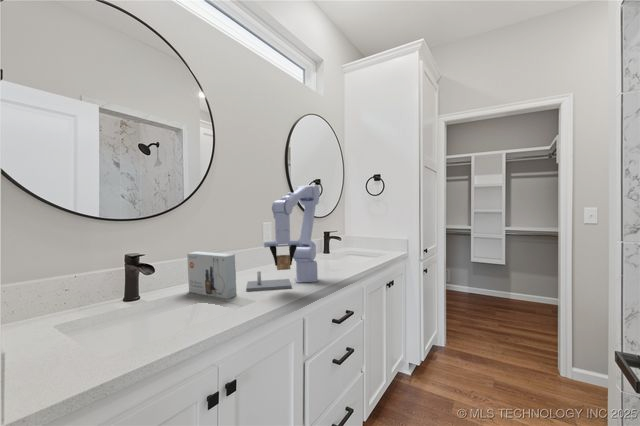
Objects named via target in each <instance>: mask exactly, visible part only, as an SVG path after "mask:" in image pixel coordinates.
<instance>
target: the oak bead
mask: <svg viewBox="0 0 640 426" xmlns="http://www.w3.org/2000/svg"><path fill="white" fill-rule="evenodd" d="M276 270H277V271H285V270H286V271H287V270H291V265H290V254H277V266H276Z"/></svg>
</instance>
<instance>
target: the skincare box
mask: <svg viewBox="0 0 640 426" xmlns="http://www.w3.org/2000/svg"><path fill="white" fill-rule="evenodd" d="M186 254H187V255H186V256H187V275H188V276H187V277H188V292H189V293H193V294H197V295H203V296H209V297H215V298H220V299H226V300H227V299H231V298H233V297H236V296H237V294H238V293H237V281H236V280H237V274H236V254H234V253H224V252H209V251H193V252H187V253H186Z"/></svg>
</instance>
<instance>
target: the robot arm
mask: <svg viewBox="0 0 640 426" xmlns="http://www.w3.org/2000/svg"><path fill="white" fill-rule="evenodd" d="M320 194H321V192H320V187H319V186H318V184H310V185H307V184H306V185H298V186H296V188H295V190H294V191H293V192H291V191H290V192H287V193H286V195H285V196H281V199H278V200H277V199H276V200H275V201H273V203H272V204H271V205H272V206H271V210H272V211H271V212H272V214H273V219H274V226H275V227H274V229H275V230H274V231H275V241H264V242H263V248H269V249H270V252H271V254H272V257H273V260H274V261H273V262H274V266H276V267H277V255H278V254H277V248H278V247H288V251H289V254H288V255H290V266H292V265H293V259H294V261H295V266H296V267H295V268H296V269H295V271H296V276H295V278H294V280H295V282H296V283H297V284H298V283H312V282H314V283H315V282H318V281H319V280H318V262H317V260H316V259H315V258H316V257H317V256H316V255H317V248H316V247H317V246H316V243H315V242H314V241H312V234H313V227H314V220H315V212H316V206H317V205H318V204H319V202H320ZM298 203H300V204H301V205H302V206H304V208H303V209H304V211H303V217H302V223H301V230H300V237H299V239H297V240H291V222H290V221H291V218H290V217H291V216H290V215H291V214H292V213H293V209H294V207H296V206H297V205H298Z"/></svg>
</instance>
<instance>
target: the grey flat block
mask: <svg viewBox="0 0 640 426" xmlns="http://www.w3.org/2000/svg"><path fill="white" fill-rule="evenodd" d="M256 276H257V279H256V280H249V281H247V282H246V283H247V284H246V287H245V288H246V289H245V291H246V293H247V292H259V291H274V290H287V289H289V290H290V289H293V286H292V283H291V280H290V279H289V278H285V279H284V278H282V279H281V278H279V279H266V280H264V279H263V280H262V272H261V270H257V272H256Z"/></svg>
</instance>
